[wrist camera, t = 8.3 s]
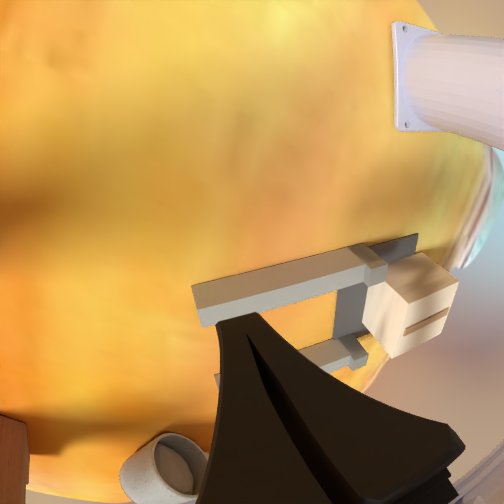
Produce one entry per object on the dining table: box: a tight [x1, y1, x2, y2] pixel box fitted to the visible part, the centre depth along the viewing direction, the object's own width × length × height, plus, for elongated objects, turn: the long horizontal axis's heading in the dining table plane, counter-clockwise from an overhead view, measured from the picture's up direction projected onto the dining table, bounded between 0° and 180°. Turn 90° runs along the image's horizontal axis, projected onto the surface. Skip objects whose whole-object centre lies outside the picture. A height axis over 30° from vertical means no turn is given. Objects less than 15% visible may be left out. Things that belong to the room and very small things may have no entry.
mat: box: [332, 233, 418, 340], centre depth 27 cm, size 8×10×1 cm
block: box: [362, 252, 459, 358], centre depth 25 cm, size 6×6×5 cm
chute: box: [191, 243, 388, 390], centre depth 23 cm, size 13×11×3 cm
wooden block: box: [0, 415, 30, 504], centre depth 15 cm, size 9×4×18 cm, turn 150°
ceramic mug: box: [119, 433, 209, 504], centre depth 27 cm, size 11×8×8 cm
